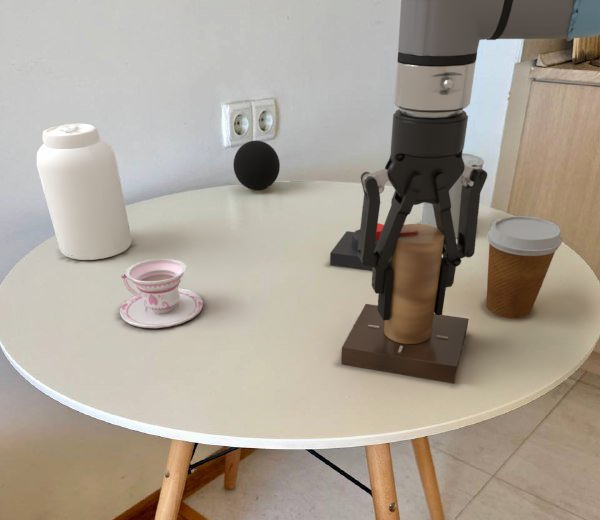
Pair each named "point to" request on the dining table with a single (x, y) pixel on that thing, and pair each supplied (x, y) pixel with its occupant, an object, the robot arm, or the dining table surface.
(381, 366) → the dark brown wooden base
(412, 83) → the robot arm
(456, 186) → the gray concrete cylinder
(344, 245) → the button base
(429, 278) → the wooden cylinder
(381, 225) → the red button
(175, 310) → the teacup
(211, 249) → the dining table surface
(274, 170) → the decorative ball
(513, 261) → the disposable coffee cup
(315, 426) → the dining table surface
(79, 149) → the white lidded jar
